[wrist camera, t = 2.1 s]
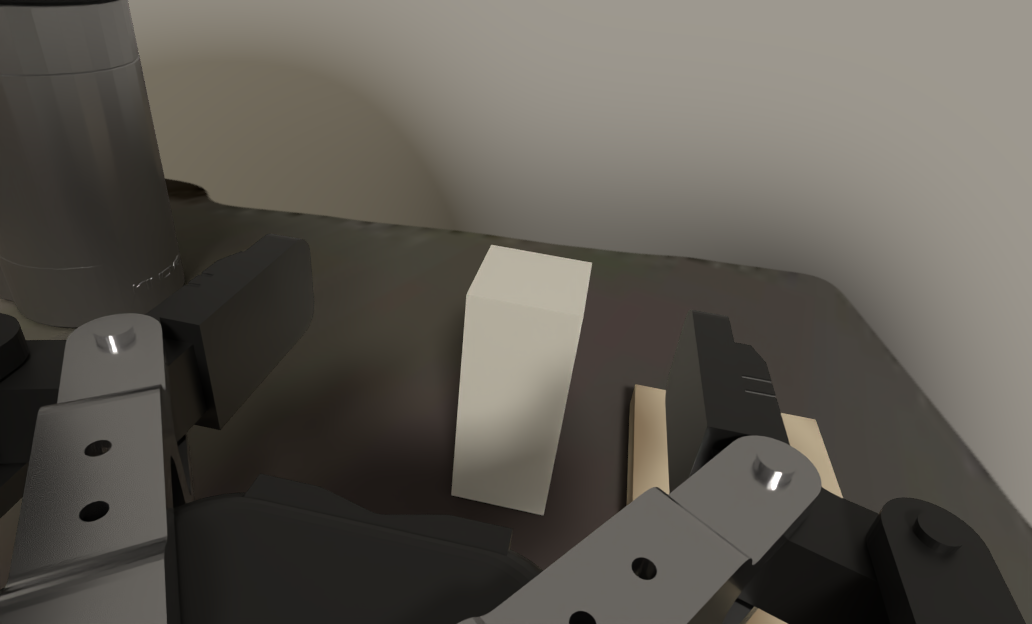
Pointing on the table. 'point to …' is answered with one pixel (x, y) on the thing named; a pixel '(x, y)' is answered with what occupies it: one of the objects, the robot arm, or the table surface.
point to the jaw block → (516, 375)
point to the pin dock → (653, 456)
